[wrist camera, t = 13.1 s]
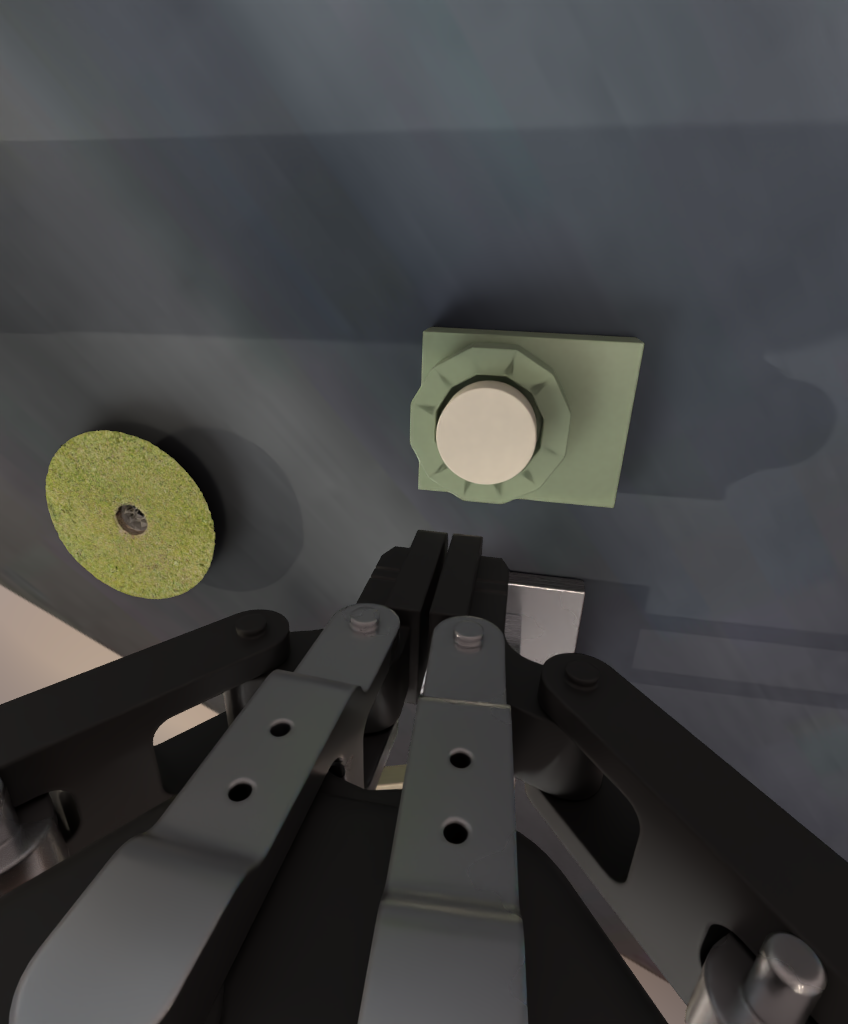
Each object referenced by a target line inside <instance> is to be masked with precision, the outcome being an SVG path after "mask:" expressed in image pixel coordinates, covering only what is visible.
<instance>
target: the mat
mask: <svg viewBox="0 0 848 1024" xmlns="http://www.w3.org/2000/svg"><path fill="white" fill-rule="evenodd" d="M45 488H46V496H47V497H46V499H47V504H48V509H49V512H50V515H51V519H52V521H53V524H54V526H55V529H56V530H57V532H58V533H59V538H60V539H61V541H63V544H64V545H65V546H66V548H67V550H68V551H69V552H70V554H72V555H73V557H74V558H75V559H76V561H77V562H79V563H80V564H81V565H82V566H83V567H84V568H85V569H86V570H88V571H89V572H90V573H91V574H93V575H94V576H95V577H96V578H97V579H99V580H101V581H102V582H103V583H105V584H107V585H109V586H110V587H112V588H114V589H116V590H118V591H121V592H124V593H125V594H129V595H132V596H136V597H143V598H149V599H162V598H170V597H174V596H175V595H177V596H178V595H180V594H183V593H184V592H186V591H188V590H189V589H191V588H193V587H194V586H195V585H196V584H197V583H198V582H200V581H201V580H202V578H203V577H204V574H206V572H207V571H208V569H207V568H209V567H210V562H211V561H212V556H213V552H214V546H215V541H214V540H215V532H214V529H215V528H214V522H213V520H212V519H211V512H210V511H209V509H208V505H207V502H206V501H205V498H204V497H203V493H202V492H200V489H199V488H198V487H197V485H196V484H195V482H194V480H193V479H192V478H191V477H190V476H189V475H188V473H187V472H186V471H185V470H184V469H183V468H182V467H181V466H180V465H179V464H178V463H177V462H176V461H175V460H174V459H173V458H172V457H170V456H169V455H168V454H166V453H165V452H164V451H162V450H160V449H159V448H158V447H157V446H154V445H153V444H151V443H150V442H148V441H145V440H143V439H139V437H135V436H132V435H127V434H125V433H122V432H117V431H114V432H112V431H109V430H104V431H103V430H100V431H97V430H96V431H93V432H86V433H83V434H81V435H78V436H76V437H74V438H72V439H70V440H69V441H67V442H66V443H65V444H64V445H61V448H60V449H59V450H58V451H57V452H56V453H55V457H53V458H52V460H51V462H50V466H49V472H48V474H47V477H46V486H45Z"/></svg>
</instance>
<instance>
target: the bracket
mask: <svg viewBox="0 0 848 1024" xmlns="http://www.w3.org/2000/svg"><path fill="white" fill-rule="evenodd" d="M584 599H585V587H584V581H583V580H576V579H567V578H559V577H550V576H541V575H533V574H524V573H516V572H509V584H508V596H507V608H506V621H505V638H506V640H507V642H508V644H509V645H510V646H511V648H512V649H513V650H515V651H516V652H517V653H518V654H520V655H521V656H523V657H525V658H527V659H529V660H531V661H534V662H536V663H539V664H542V665H543V664H544V663H545V661H546V660H548V659H549V658H550V657H552V656H555V655H558V654H562V653H575V650H576V644H577V638H578V633H579V627H580V621H581V616H582V610H583V604H584ZM426 671H427V670H426ZM425 677H426V673H425ZM425 677H424V681H423V685H422V688H421V692H420V693H422V694H423V689H424V683H425ZM515 784H516V778H514V791H515Z"/></svg>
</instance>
